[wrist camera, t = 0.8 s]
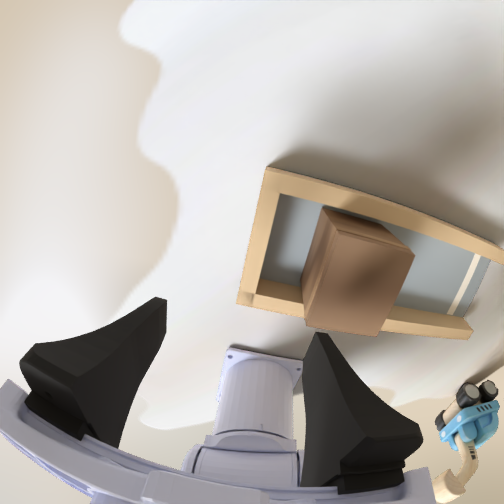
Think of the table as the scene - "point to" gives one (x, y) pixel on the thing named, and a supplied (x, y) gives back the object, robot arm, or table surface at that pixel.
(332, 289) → the box
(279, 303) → the bay
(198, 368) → the table surface
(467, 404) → the toy excavator
